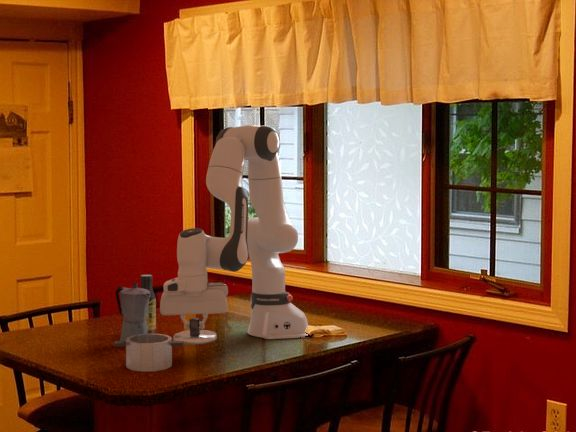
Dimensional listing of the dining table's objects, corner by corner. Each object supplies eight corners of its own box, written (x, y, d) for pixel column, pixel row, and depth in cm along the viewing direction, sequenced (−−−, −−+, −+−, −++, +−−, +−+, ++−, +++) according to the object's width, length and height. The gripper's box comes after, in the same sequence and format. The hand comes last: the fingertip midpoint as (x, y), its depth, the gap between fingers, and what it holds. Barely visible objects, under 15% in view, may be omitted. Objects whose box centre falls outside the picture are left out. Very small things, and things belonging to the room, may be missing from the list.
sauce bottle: (152, 336, 313) (151, 277, 311) (134, 335, 314) (133, 276, 312) (158, 332, 319) (158, 274, 317) (141, 331, 320) (140, 273, 318)
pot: (184, 359, 283) (184, 333, 282) (182, 371, 270) (181, 343, 269) (117, 360, 282) (117, 333, 281) (111, 371, 269) (111, 344, 268)
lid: (217, 332, 291) (216, 313, 290) (216, 343, 278) (215, 323, 278) (174, 334, 290) (174, 314, 290) (172, 345, 278) (171, 324, 277)
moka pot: (141, 350, 294) (140, 286, 292) (104, 343, 303) (103, 282, 300) (160, 343, 302) (160, 282, 300) (124, 337, 311) (123, 278, 309)
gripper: (227, 280, 286) (229, 324, 288) (160, 282, 285) (161, 326, 287) (227, 284, 280) (229, 329, 281) (158, 286, 279) (160, 332, 280)
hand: (194, 328), depth 284 cm, fingers closed on lid, 3 cm apart
